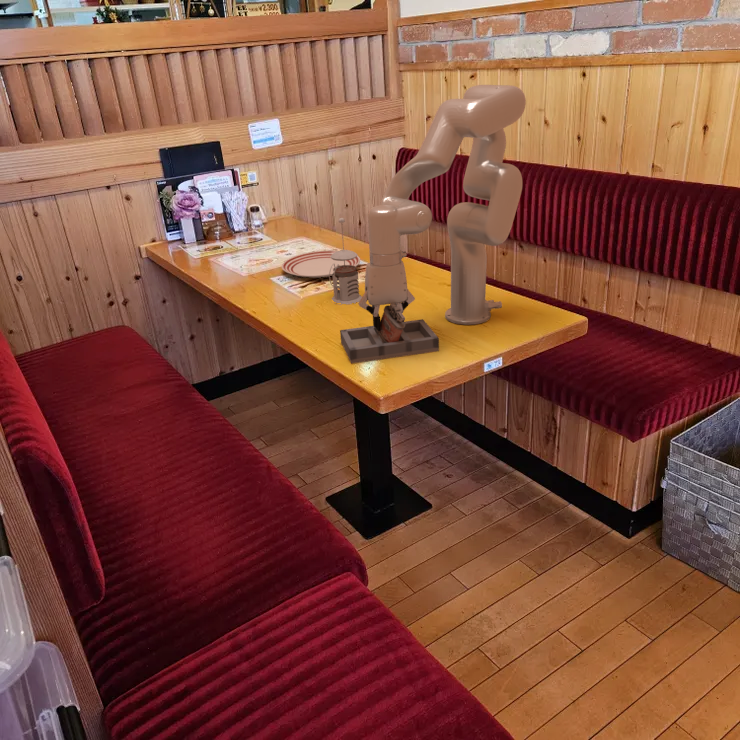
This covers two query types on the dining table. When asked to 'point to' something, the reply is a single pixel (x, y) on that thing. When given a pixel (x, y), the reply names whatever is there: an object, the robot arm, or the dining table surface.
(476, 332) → the dining table surface
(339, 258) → the french press
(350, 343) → the tray
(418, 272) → the dining table surface
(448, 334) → the dining table surface
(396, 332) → the lighter
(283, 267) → the dinner plate
